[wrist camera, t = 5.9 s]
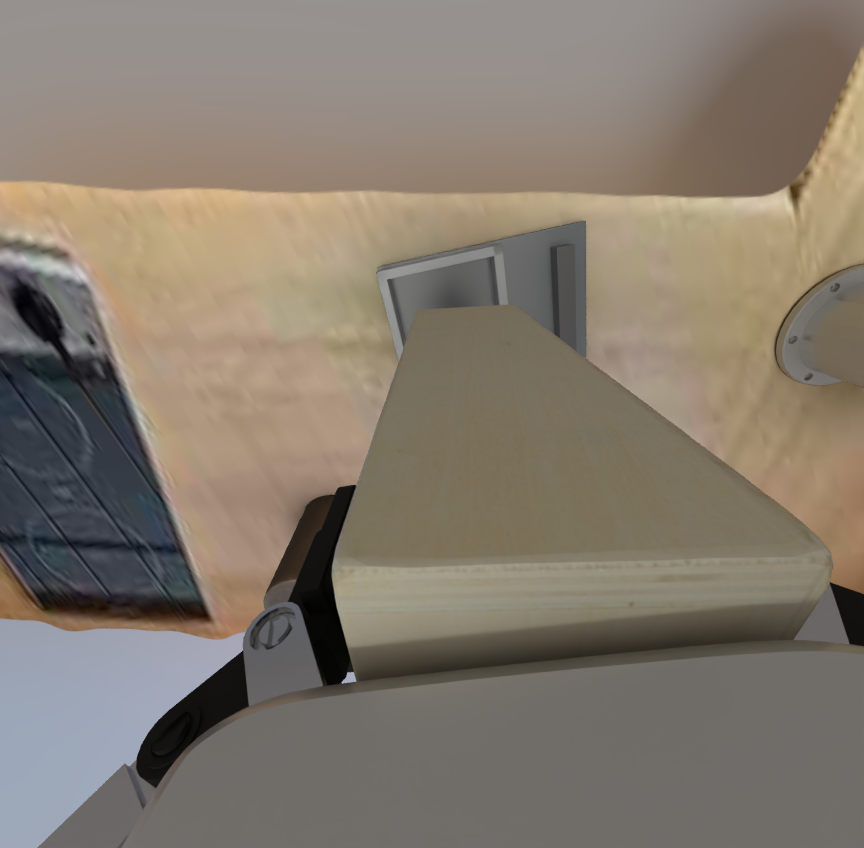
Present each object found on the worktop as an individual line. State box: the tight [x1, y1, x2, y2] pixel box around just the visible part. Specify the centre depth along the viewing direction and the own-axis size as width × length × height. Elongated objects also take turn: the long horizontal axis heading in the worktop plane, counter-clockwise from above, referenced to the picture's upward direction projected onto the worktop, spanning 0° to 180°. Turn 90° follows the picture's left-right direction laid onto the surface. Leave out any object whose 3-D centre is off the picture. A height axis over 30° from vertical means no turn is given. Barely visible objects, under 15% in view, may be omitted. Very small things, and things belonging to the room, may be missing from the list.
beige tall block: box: [332, 305, 833, 682], centre depth 15 cm, size 8×7×21 cm
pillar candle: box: [264, 495, 334, 610], centre depth 45 cm, size 10×10×15 cm
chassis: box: [376, 221, 586, 360], centre depth 36 cm, size 20×13×4 cm, turn 101°
